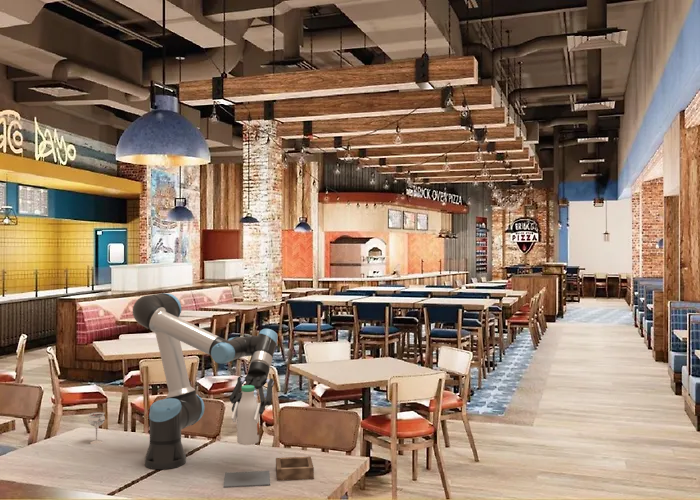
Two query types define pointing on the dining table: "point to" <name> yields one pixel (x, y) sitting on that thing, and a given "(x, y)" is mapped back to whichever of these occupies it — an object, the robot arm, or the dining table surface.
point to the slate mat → (247, 479)
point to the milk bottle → (247, 417)
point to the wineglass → (96, 422)
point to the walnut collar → (294, 468)
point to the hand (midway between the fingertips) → (244, 420)
